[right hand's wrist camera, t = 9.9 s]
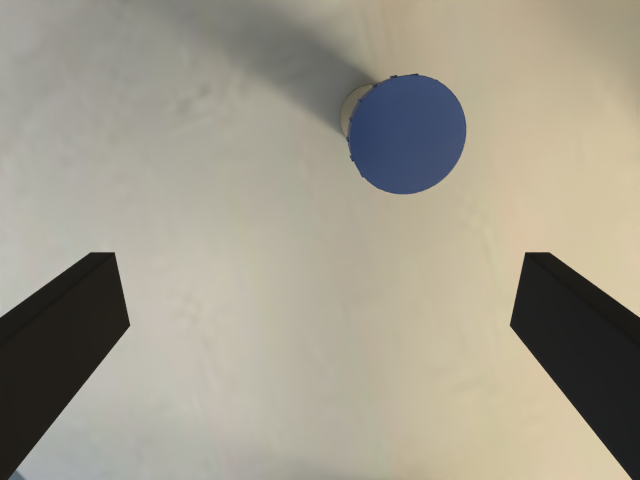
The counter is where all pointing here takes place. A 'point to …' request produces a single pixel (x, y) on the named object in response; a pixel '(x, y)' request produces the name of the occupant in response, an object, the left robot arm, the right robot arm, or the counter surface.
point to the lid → (406, 133)
